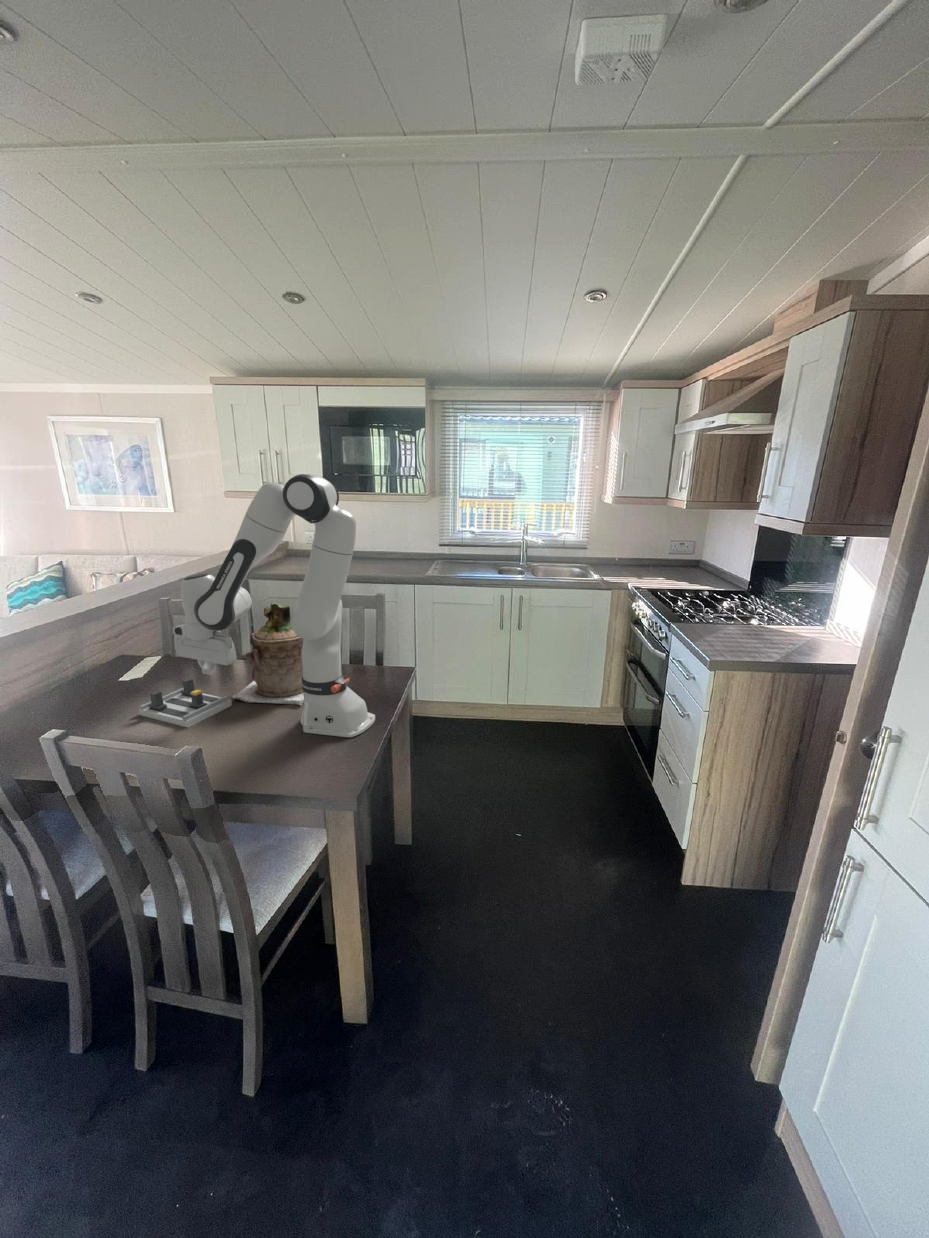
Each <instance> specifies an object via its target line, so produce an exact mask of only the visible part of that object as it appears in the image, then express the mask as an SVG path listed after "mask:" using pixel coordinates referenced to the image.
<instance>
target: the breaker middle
mask: <svg viewBox="0 0 929 1238" xmlns="http://www.w3.org/2000/svg"><path fill="white" fill-rule="evenodd" d="M202 691H203V690H201V689H194V691H192V692H191V699H192V702H190V703H189V706H192V707H197V708H201V707H204V706H206V705H207V703H204V702H203V697H202V693H203V692H202Z"/></svg>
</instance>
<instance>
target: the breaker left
mask: <svg viewBox="0 0 929 1238" xmlns="http://www.w3.org/2000/svg"><path fill="white" fill-rule="evenodd" d="M162 693H163V692H162V691H159V690H156V691H153V692H151V693H149V696H150V702H151V703H152V704H149V707H150V708H154V709H158V710H162V709H164V708H167V705H166V704H163V699H162V696H163V694H162Z"/></svg>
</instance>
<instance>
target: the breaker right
mask: <svg viewBox="0 0 929 1238" xmlns="http://www.w3.org/2000/svg"><path fill="white" fill-rule="evenodd" d="M182 686H183V687H182V688H184V690H182V691H181V693H182V694H186V695H190V696H191V692H192V691H194V690H195V686H194V679H193V678H190V677H187V678H185V679H182Z"/></svg>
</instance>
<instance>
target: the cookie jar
mask: <svg viewBox="0 0 929 1238" xmlns="http://www.w3.org/2000/svg"><path fill="white" fill-rule="evenodd" d="M269 605H270V606H265V607H264V609H263V616H264V617H266V618H267V619H268V620H267V621H266V622H265V624H264V625H263V626H261V627H260V628H259V629H258V630H257V631H255V632H252V633H251V634H250V637H249V638H250V639H249V644H250V645H251V646H252V651H250V652H246V653H245V655H244V656H245V659H246V660H247V661H248V663H249V664H250V665H251V666H252V673H251V678H252V679H253V681H251V682H250V683H249V684H248V685H247V686H245V687H243V688H242V689H241V690H240V691H239V692H237V693H235V694H233V695H232V697H231V698H233V699H237V700H240V701H243V702H245V703H260V704H261V703H263V704H282V705H297V706H302V707H303V702H304V691H303V690H302V676H303V670H302V656H301V651H302V646H303V639H302V638H300V637H299V636H297V635H296V634H295V632H294V631H293V629H292V626H291V608H290V606H289V605H287V604H285V603H284V604H283V603H278V602H273V601H272V602H270V604H269Z"/></svg>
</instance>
